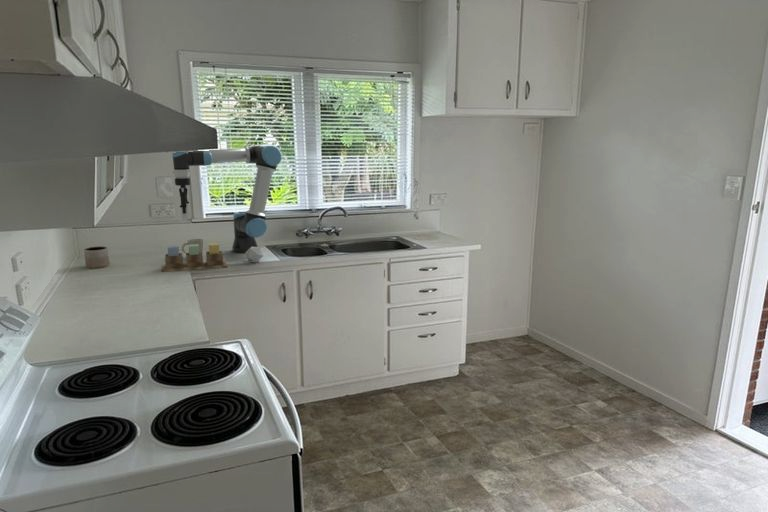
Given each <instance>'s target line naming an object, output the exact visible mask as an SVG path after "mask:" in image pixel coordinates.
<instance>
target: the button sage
mask: <svg viewBox="0 0 768 512" xmlns="http://www.w3.org/2000/svg"><path fill="white" fill-rule="evenodd" d="M188 252H189V255H199V244H193V245H189V246H188Z"/></svg>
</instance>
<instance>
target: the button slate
mask: <svg viewBox="0 0 768 512" xmlns="http://www.w3.org/2000/svg"><path fill="white" fill-rule="evenodd" d="M179 247H180V246H179V245H178V244H176V245H168V246H167V254H168V256H179V253H180V252H179V251H180V248H179Z"/></svg>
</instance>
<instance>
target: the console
mask: <svg viewBox="0 0 768 512" xmlns="http://www.w3.org/2000/svg"><path fill="white" fill-rule="evenodd" d="M205 252H206V261H204V258H203V257H204V256H203V253H202V252H199V255H189V251H188V252H187V253H186V254H185V258H186V259H185V260H186V261H185V262H184V259H183V252H179V256H168V253H165V256H164V261H165V264H162V267H161V272H162V273H163V272H166V273H167V272H177V271H180V272H181V271H192V270H195V271H197V270H207V269H222V268H228V264H227V260H224V257H223V256H224V255H223V254H224V253H223V251H222V250H219V253H217V254H209V250H207V251H205Z"/></svg>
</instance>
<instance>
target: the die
mask: <svg viewBox="0 0 768 512" xmlns="http://www.w3.org/2000/svg"><path fill="white" fill-rule="evenodd" d="M244 255H245V256H246V258H247V261H248V262H249V261H254V262H253V263H258V262H259V261H260V260H261V259H262V258H263V257H264V254H263V253H262V250H261V248H260V247H259V246H258V247H251V248H250V249H249V250H247V251H246V252H245V254H244ZM257 261H258V262H257Z"/></svg>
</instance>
